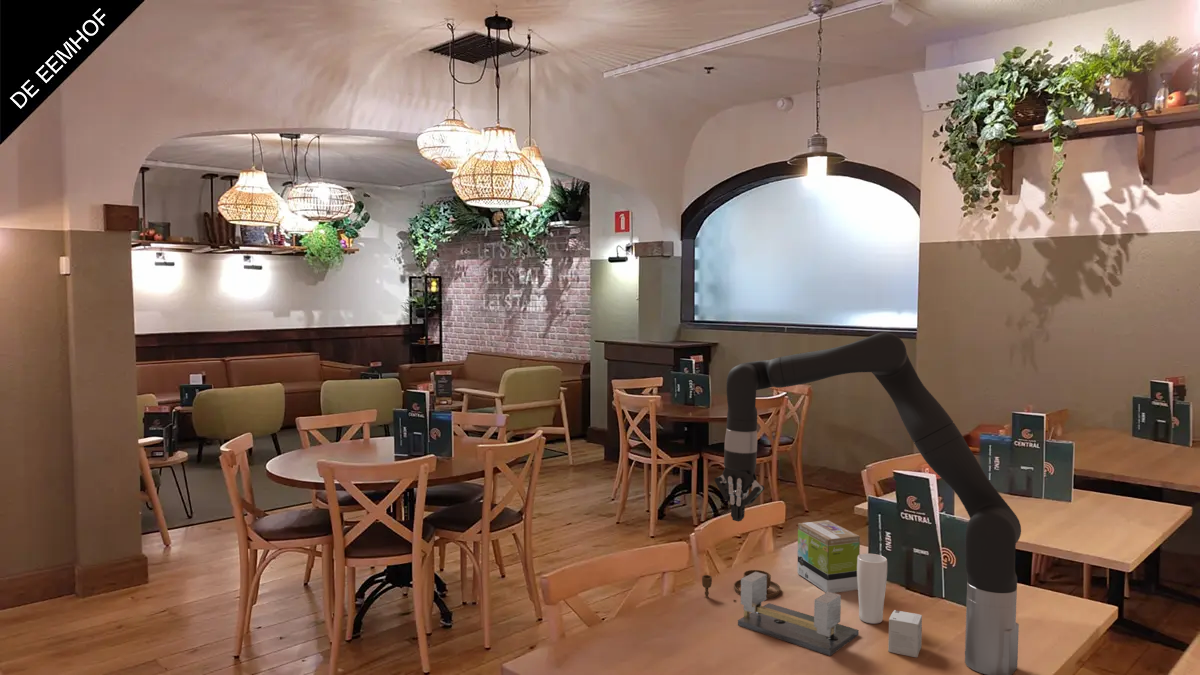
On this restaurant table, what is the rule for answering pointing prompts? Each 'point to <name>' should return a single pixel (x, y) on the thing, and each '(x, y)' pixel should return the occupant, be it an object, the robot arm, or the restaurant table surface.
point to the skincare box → (905, 633)
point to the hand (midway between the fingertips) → (737, 520)
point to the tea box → (828, 556)
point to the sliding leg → (753, 591)
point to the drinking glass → (871, 586)
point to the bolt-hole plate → (798, 631)
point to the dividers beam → (824, 614)
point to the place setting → (708, 581)
